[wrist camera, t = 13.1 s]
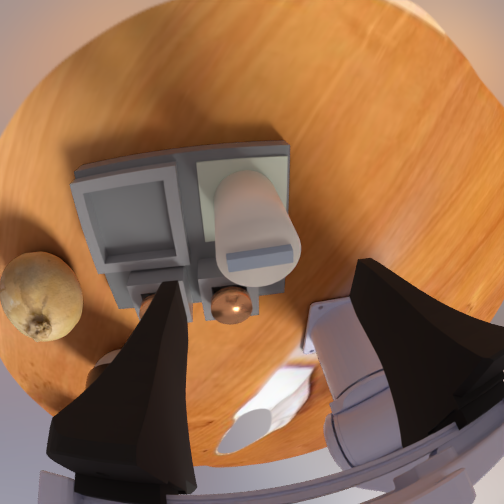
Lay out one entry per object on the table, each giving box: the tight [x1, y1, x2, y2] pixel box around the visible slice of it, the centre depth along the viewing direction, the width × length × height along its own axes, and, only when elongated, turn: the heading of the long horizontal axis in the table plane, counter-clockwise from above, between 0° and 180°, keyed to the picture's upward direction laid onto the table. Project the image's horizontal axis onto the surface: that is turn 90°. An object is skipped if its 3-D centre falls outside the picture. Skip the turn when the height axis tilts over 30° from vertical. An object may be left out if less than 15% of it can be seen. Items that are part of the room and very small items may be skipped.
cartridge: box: [214, 170, 301, 287], centre depth 16 cm, size 4×4×6 cm
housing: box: [70, 140, 290, 322], centre depth 19 cm, size 14×12×4 cm
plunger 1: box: [139, 293, 156, 320], centre depth 20 cm, size 3×3×3 cm
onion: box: [0, 251, 83, 342], centre depth 18 cm, size 8×8×7 cm
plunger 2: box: [211, 285, 253, 324], centre depth 20 cm, size 3×3×3 cm
